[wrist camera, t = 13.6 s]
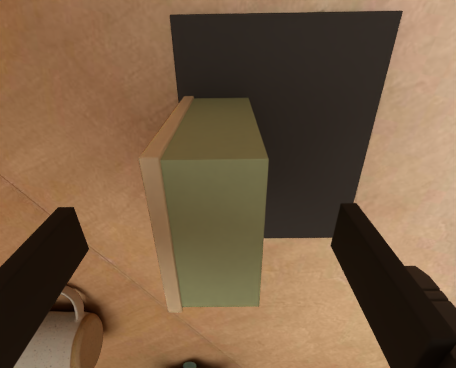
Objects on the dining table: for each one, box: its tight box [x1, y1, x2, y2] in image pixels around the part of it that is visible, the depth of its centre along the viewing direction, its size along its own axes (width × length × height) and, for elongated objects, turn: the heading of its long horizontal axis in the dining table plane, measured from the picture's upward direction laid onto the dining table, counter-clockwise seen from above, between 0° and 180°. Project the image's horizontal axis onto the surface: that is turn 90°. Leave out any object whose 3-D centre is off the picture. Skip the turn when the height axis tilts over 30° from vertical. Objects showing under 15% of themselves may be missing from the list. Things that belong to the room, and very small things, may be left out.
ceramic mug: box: [13, 286, 103, 368], centre depth 31 cm, size 11×8×8 cm
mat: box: [170, 11, 403, 238], centre depth 23 cm, size 20×16×1 cm
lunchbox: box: [139, 96, 269, 312], centre depth 18 cm, size 5×9×12 cm, turn 1°
